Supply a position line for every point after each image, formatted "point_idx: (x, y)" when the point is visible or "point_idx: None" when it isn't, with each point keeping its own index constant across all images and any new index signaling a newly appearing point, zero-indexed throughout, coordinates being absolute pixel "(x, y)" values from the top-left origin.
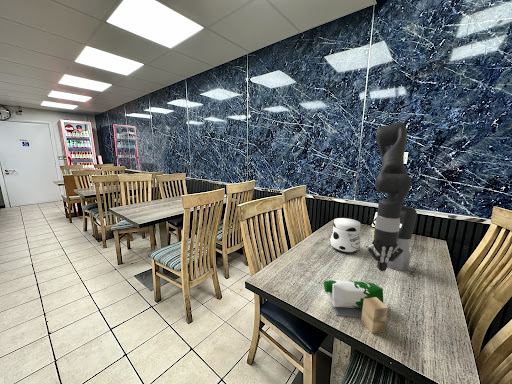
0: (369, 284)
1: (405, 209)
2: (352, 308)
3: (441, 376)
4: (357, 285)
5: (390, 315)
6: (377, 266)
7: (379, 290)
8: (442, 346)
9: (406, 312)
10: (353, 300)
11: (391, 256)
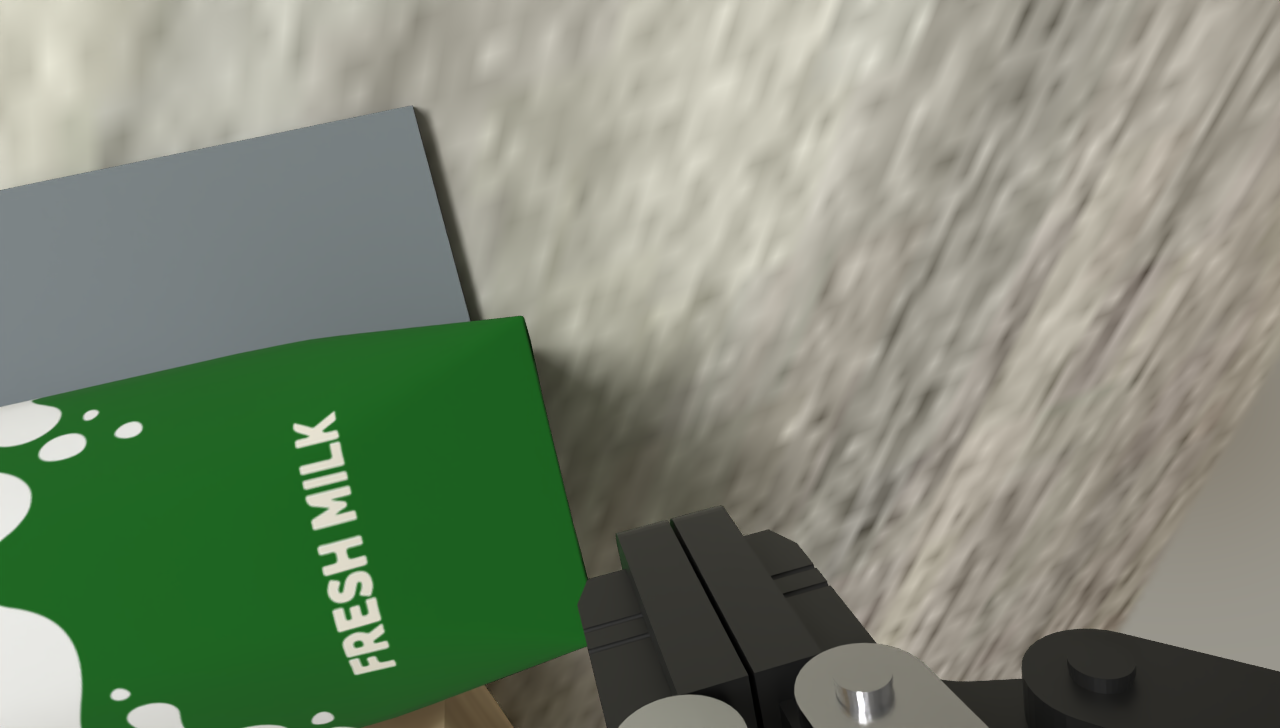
0: (395, 582)
1: None
2: None
3: None
4: (146, 718)
5: (653, 499)
6: (584, 633)
7: (541, 661)
8: None
9: (846, 385)
10: None
11: (1233, 720)
